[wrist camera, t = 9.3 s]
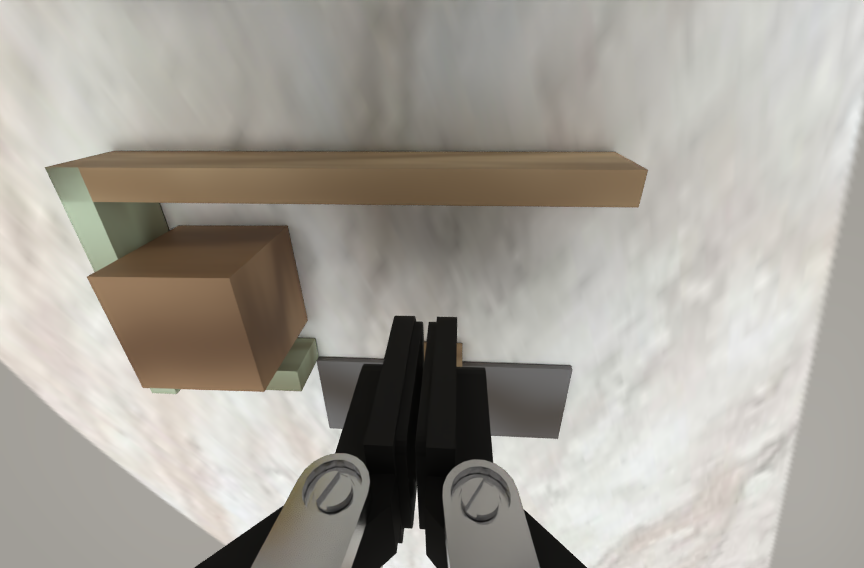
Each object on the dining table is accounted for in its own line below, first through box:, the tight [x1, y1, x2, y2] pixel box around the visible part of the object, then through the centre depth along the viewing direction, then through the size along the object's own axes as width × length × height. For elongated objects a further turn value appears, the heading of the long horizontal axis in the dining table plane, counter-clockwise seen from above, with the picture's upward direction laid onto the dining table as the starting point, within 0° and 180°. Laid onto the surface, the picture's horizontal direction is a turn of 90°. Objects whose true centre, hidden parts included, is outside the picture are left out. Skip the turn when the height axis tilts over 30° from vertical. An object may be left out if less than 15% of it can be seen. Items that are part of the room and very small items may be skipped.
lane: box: [45, 151, 648, 439], centre depth 18 cm, size 15×20×3 cm
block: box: [87, 226, 308, 392], centre depth 16 cm, size 5×5×5 cm
